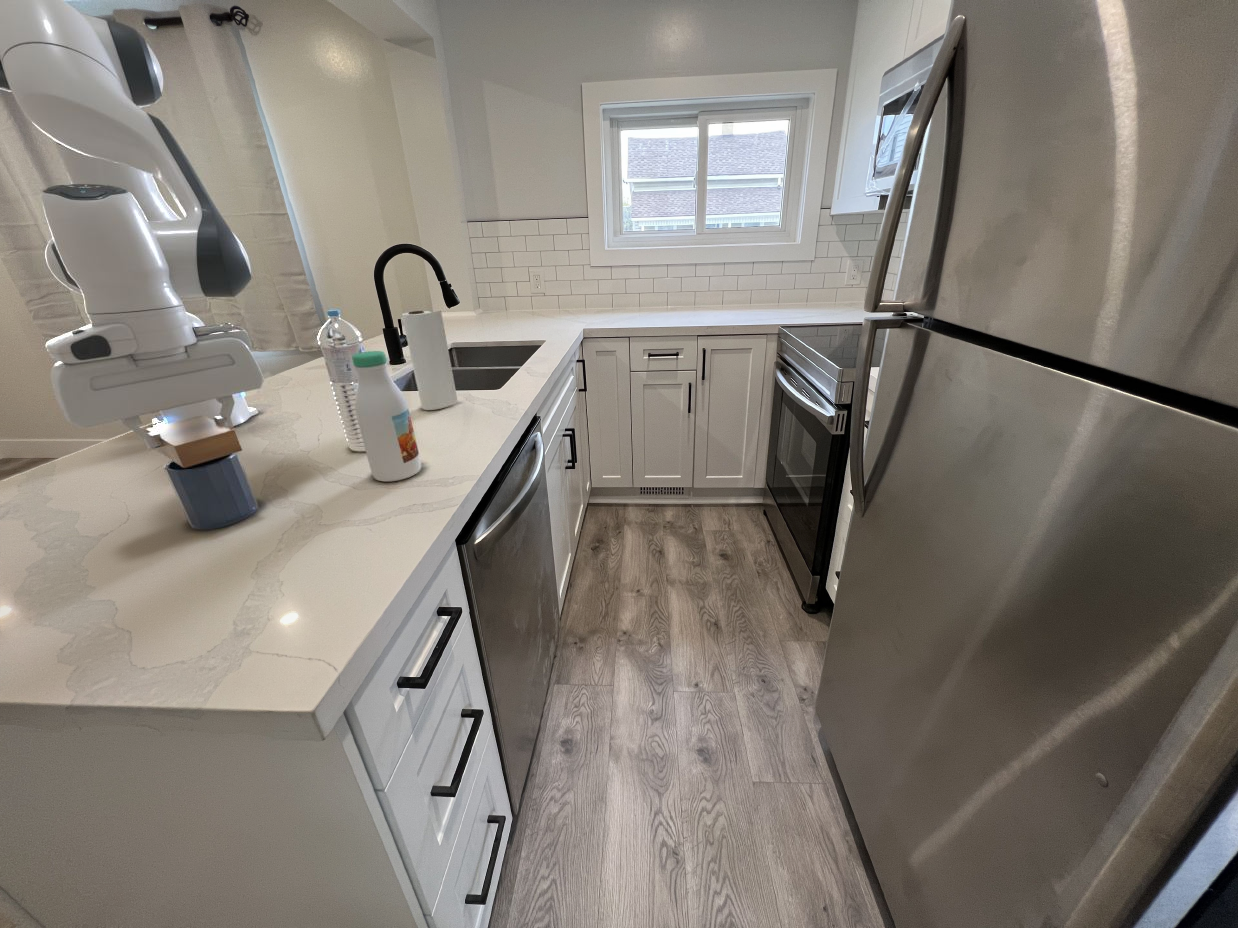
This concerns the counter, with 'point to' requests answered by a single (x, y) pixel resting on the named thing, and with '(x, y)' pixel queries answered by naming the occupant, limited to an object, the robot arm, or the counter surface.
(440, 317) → the paper towel roll
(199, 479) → the cup
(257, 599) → the counter surface
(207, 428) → the wooden block
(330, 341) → the water bottle
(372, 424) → the milk bottle
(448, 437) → the counter surface
